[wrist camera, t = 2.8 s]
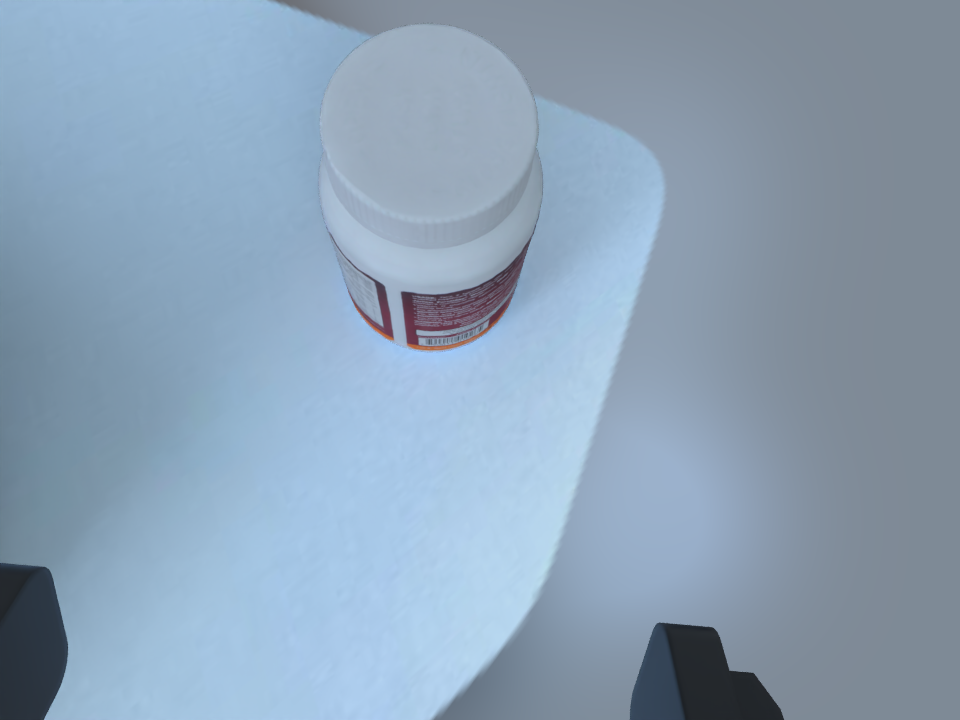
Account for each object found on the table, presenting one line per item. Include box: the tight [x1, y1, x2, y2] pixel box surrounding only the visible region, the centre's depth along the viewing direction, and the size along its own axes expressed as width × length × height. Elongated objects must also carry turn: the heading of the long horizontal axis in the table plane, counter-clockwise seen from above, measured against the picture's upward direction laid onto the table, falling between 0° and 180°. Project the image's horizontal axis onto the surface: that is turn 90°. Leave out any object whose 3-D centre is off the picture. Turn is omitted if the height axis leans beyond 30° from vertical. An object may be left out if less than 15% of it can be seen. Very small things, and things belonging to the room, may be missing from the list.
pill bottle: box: [318, 23, 543, 352], centre depth 25 cm, size 6×6×11 cm
